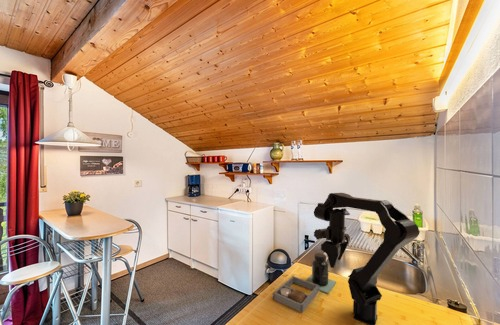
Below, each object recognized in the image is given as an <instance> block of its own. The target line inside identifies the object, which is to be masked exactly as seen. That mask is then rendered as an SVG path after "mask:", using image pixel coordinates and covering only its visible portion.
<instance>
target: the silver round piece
mask: <svg viewBox="0 0 500 325" xmlns="http://www.w3.org/2000/svg"><path fill="white" fill-rule="evenodd" d="M281 295H282V296H285V297H287V298H289V299H290V297H291V290H290V289H288V288H282V289H281Z"/></svg>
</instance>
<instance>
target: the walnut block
mask: <svg viewBox="0 0 500 325" xmlns="http://www.w3.org/2000/svg"><path fill="white" fill-rule="evenodd" d="M305 294H306V292H304V291H303V290H302V291H301V290H299V289H297V288H295V290H294V291H293V292H292V293H291V297H290V299H292V300H294V301H296V302H298V303H302V302H303V301H304V300H305Z"/></svg>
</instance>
